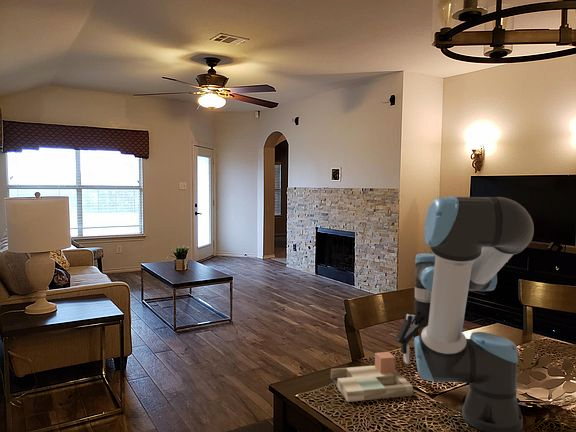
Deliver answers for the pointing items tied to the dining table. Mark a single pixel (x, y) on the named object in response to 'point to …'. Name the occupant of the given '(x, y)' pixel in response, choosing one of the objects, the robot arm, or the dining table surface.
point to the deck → (369, 383)
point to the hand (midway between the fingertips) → (424, 361)
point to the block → (385, 362)
